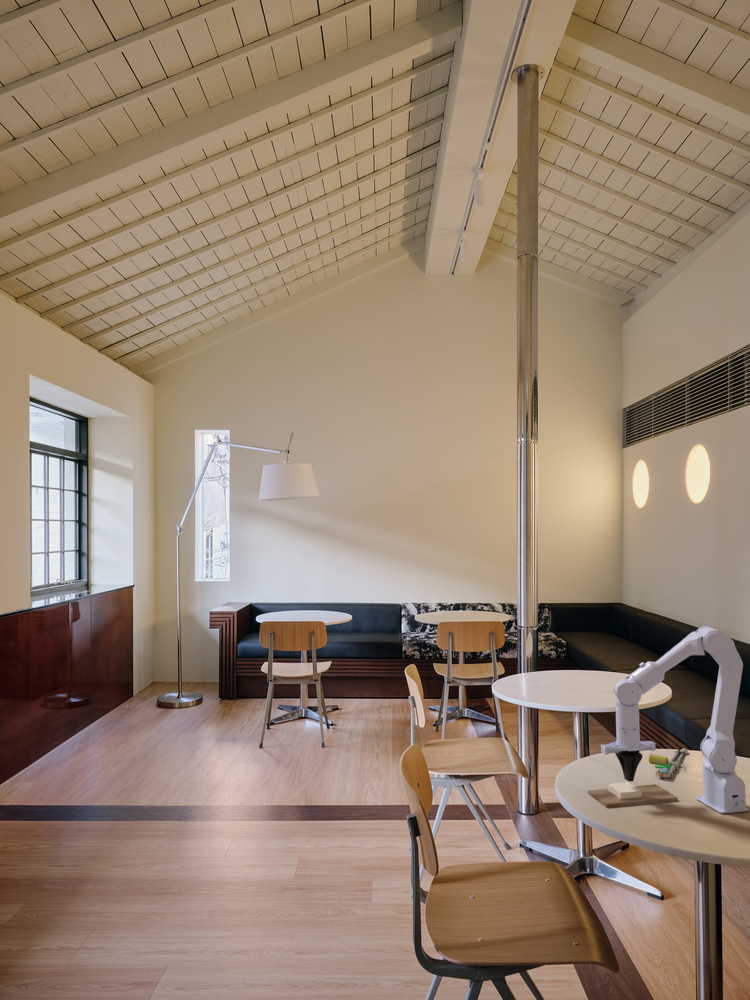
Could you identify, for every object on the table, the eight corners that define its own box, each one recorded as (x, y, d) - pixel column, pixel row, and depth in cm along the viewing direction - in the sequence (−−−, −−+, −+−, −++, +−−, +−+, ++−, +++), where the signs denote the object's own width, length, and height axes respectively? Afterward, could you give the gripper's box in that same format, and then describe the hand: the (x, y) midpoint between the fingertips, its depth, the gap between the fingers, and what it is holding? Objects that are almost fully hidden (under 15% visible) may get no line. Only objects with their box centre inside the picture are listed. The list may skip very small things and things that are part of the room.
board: (677, 800, 168) (677, 797, 168) (606, 807, 164) (606, 804, 164) (656, 787, 177) (656, 784, 177) (588, 793, 173) (588, 790, 173)
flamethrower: (639, 775, 185) (677, 784, 180) (639, 765, 185) (678, 774, 180) (659, 749, 210) (693, 756, 204) (659, 740, 210) (693, 748, 204)
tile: (641, 790, 168) (620, 792, 167) (641, 797, 168) (620, 799, 167) (628, 782, 174) (607, 783, 173) (628, 788, 174) (607, 790, 173)
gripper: (643, 721, 177) (644, 772, 176) (594, 724, 174) (595, 776, 173) (659, 728, 170) (661, 782, 169) (608, 732, 167) (610, 786, 167)
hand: (629, 780), depth 171 cm, fingers closed
